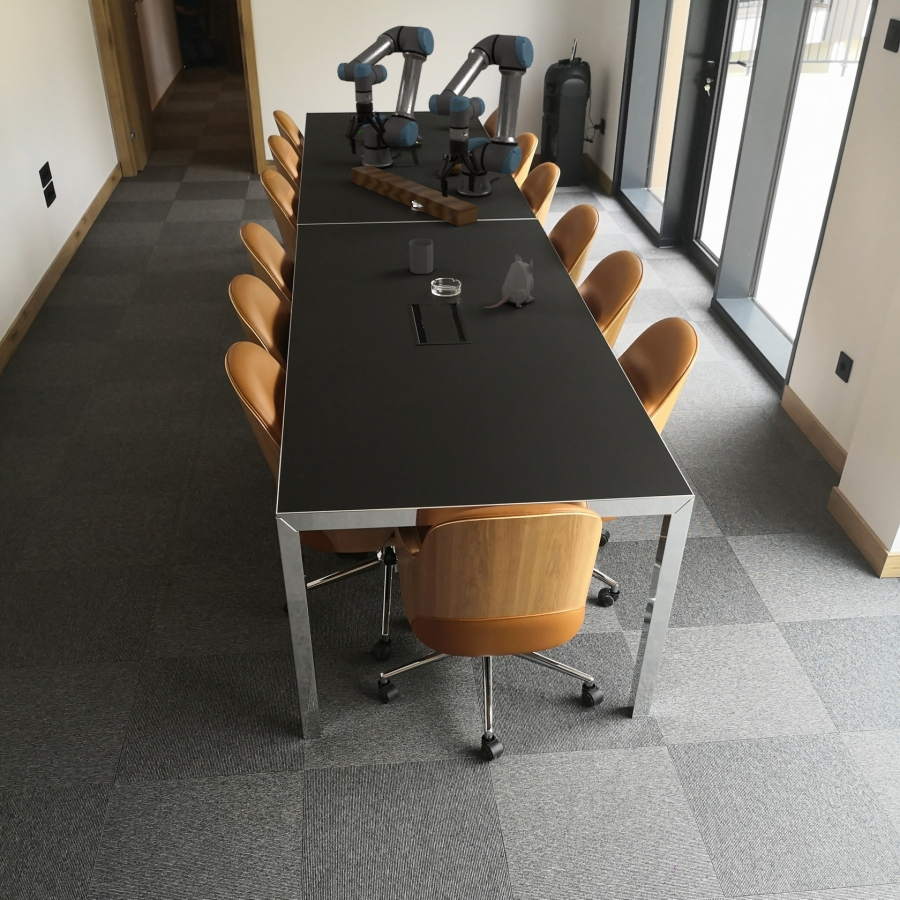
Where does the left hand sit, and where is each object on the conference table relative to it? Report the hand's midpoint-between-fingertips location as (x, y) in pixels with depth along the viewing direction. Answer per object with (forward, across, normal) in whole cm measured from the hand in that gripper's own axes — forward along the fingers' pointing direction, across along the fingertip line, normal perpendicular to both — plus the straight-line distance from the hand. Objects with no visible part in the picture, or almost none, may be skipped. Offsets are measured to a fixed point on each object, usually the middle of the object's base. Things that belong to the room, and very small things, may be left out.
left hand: (366, 151), depth 393 cm
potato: (+14, +42, -11) cm, 45 cm away
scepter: (+14, +50, +61) cm, 80 cm away
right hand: (+3, 0, -68) cm, 68 cm away
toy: (+14, -42, -147) cm, 154 cm away
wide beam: (+14, 0, -34) cm, 37 cm away
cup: (+14, -45, -104) cm, 114 cm away
